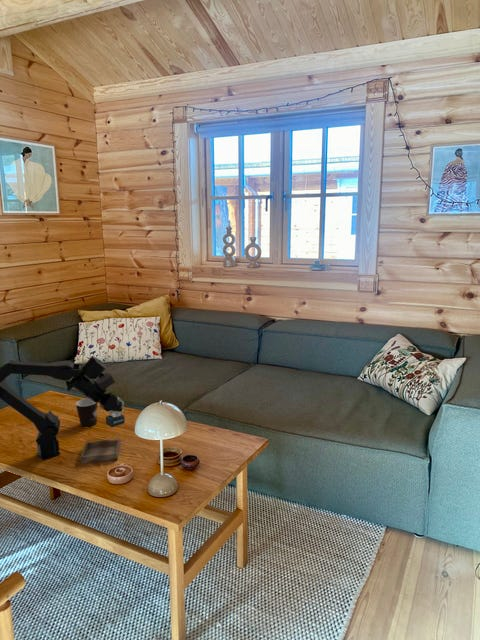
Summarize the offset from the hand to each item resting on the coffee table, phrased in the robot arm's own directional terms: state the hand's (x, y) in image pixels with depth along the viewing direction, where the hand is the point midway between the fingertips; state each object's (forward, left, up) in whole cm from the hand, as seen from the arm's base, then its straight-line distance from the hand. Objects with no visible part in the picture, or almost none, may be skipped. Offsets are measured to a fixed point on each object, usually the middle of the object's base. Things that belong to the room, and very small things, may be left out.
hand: (116, 407), depth 181 cm
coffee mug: (-1, +22, -13) cm, 26 cm away
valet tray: (-11, -6, -13) cm, 18 cm away
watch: (-1, 0, -7) cm, 7 cm away
